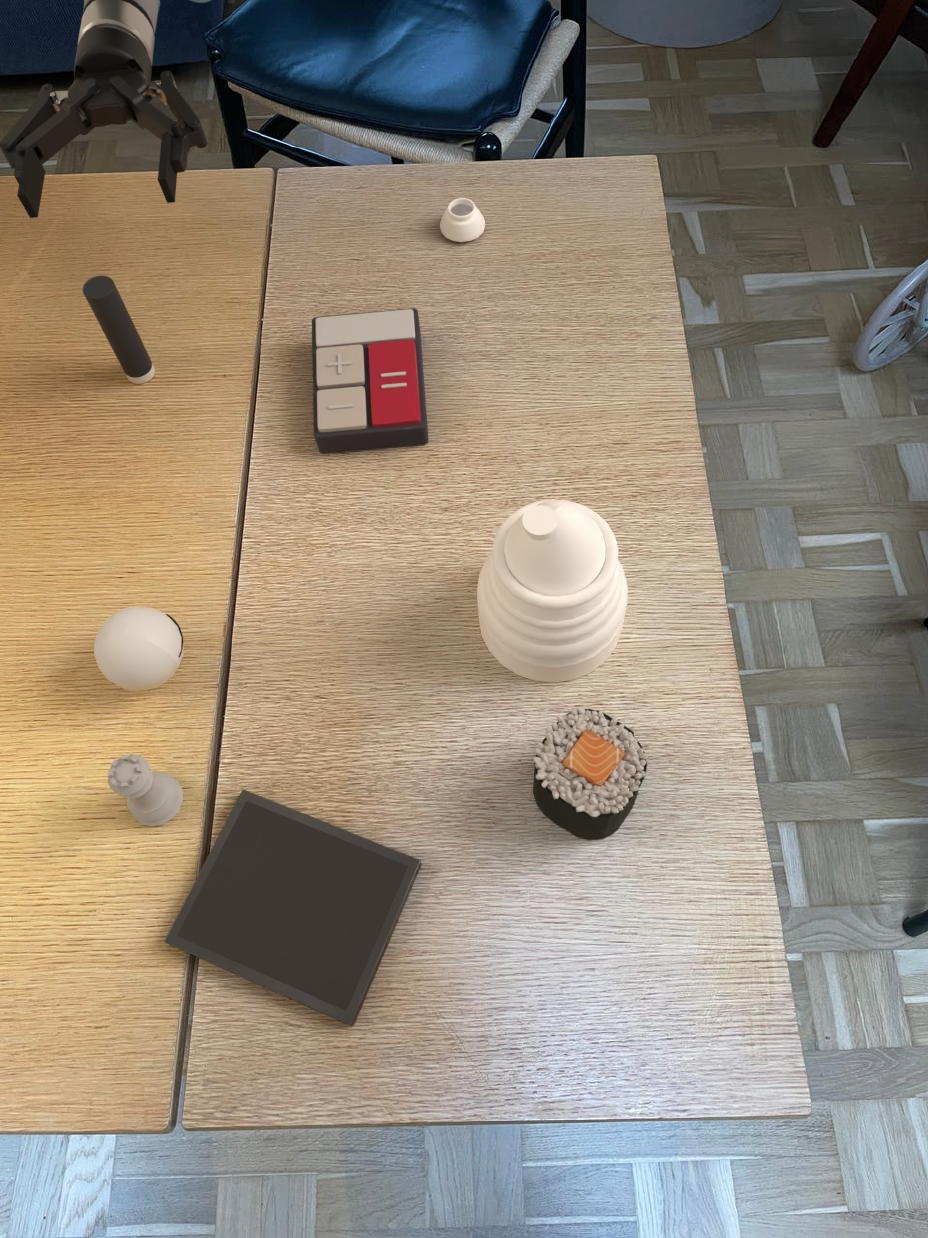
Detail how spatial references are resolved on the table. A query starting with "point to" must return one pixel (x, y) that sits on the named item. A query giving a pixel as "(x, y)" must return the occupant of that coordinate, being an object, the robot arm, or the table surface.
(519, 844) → the table surface
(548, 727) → the sushi
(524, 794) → the table surface
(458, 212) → the lidless jar
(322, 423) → the calculator
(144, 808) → the rook chess piece
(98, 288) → the marker
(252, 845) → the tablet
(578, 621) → the honey pot
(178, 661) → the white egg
